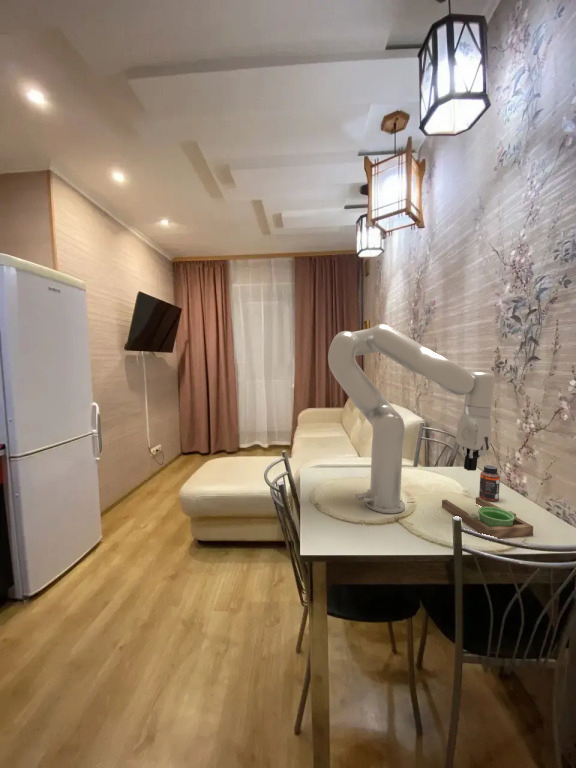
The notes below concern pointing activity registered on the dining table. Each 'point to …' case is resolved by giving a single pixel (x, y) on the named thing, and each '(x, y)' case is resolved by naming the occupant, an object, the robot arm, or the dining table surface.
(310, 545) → the dining table surface
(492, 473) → the supplement bottle
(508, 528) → the walnut track
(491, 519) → the ramekin
